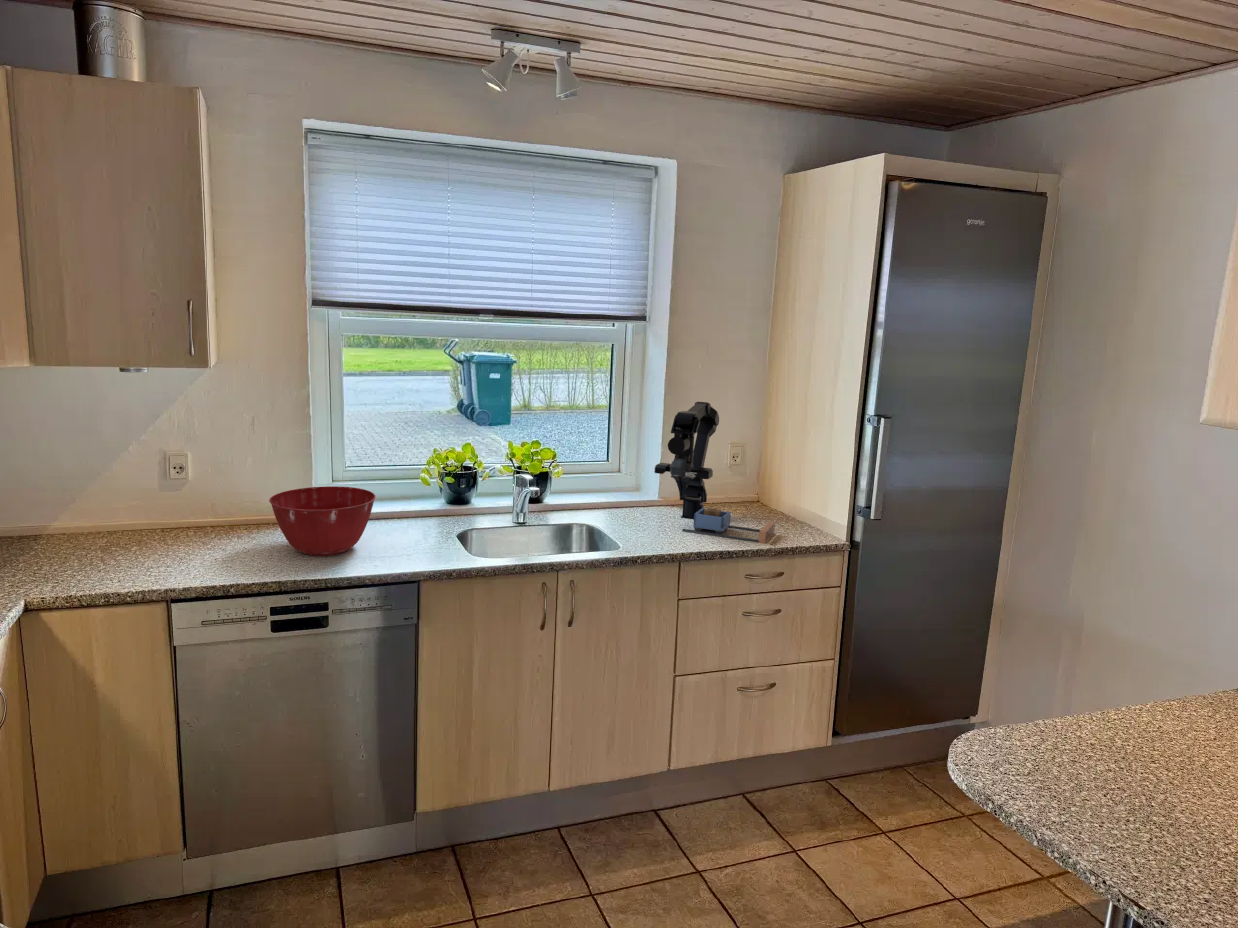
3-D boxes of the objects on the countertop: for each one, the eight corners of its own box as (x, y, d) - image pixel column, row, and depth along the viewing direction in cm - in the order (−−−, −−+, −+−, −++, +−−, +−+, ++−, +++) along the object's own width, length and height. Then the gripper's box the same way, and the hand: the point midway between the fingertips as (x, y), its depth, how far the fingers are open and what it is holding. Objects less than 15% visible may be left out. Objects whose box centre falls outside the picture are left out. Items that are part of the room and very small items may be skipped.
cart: (693, 530, 286) (694, 513, 285) (700, 525, 295) (701, 508, 294) (722, 535, 283) (723, 517, 282) (729, 529, 291) (730, 512, 290)
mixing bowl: (287, 569, 228) (286, 512, 226) (258, 542, 251) (257, 490, 248) (390, 555, 245) (390, 502, 242) (355, 531, 267) (355, 482, 265)
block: (703, 523, 287) (704, 510, 286) (707, 520, 291) (708, 507, 290) (716, 525, 286) (717, 512, 285) (720, 522, 290) (721, 509, 289)
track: (682, 532, 285) (682, 520, 285) (694, 523, 298) (695, 511, 297) (764, 544, 276) (765, 532, 275) (773, 534, 288) (774, 522, 288)
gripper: (650, 450, 284) (647, 497, 287) (705, 456, 277) (702, 504, 280) (661, 445, 294) (658, 490, 297) (714, 451, 288) (711, 497, 290)
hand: (682, 496), depth 291 cm, fingers closed
